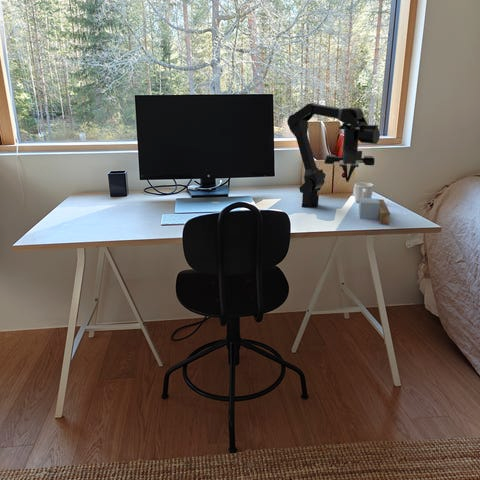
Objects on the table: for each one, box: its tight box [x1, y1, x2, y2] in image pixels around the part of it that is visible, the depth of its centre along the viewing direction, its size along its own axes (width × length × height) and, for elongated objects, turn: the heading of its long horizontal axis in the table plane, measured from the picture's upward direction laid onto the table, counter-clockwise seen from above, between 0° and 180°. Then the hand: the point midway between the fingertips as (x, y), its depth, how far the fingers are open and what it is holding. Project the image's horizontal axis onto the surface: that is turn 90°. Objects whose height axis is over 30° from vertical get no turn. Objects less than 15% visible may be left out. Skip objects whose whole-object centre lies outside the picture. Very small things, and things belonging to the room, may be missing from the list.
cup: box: [354, 181, 375, 203], centre depth 187 cm, size 11×8×8 cm
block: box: [358, 197, 380, 220], centre depth 168 cm, size 7×7×6 cm
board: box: [377, 198, 391, 226], centre depth 167 cm, size 3×20×4 cm, turn 169°
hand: (347, 181), depth 170 cm, fingers closed
